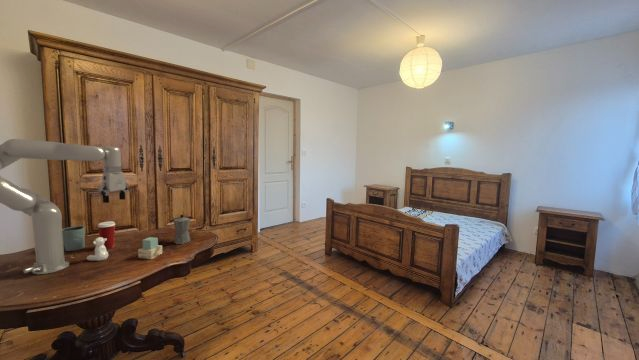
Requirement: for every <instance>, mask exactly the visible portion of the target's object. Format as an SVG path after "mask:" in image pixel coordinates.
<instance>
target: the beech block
mask: <svg viewBox="0 0 639 360" xmlns="http://www.w3.org/2000/svg"><path fill="white" fill-rule="evenodd" d="M162 253H163V245H161V244H160V245H159V244H158V247H156V248H153V249H151V250H149V249H143V247H140V248H138V249H137V254H138V259H147V260H153V259H156V258H157V257H159V256H160V254H161V255H163V254H162ZM158 255H159V256H158Z"/></svg>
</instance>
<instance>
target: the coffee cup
mask: <svg viewBox="0 0 639 360" xmlns="http://www.w3.org/2000/svg"><path fill="white" fill-rule="evenodd" d="M97 228H98V234H99V237H101V238H103V239H105V238H107V240H106V241H105V243H104V244H103V245H104V246H105V247H106V250H110V249H114V248H115V237H116V235H115V232H116V231H115V229H116V223H115V221H103V222H102V221H101V222H99V223H98V225H97Z"/></svg>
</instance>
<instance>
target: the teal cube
mask: <svg viewBox="0 0 639 360" xmlns="http://www.w3.org/2000/svg"><path fill="white" fill-rule="evenodd" d="M158 245H159V239H158V237H151V236H149V237H147V238H144V239H142V248H143V249H149V250H151V249H153V248H156V247H158Z"/></svg>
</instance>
